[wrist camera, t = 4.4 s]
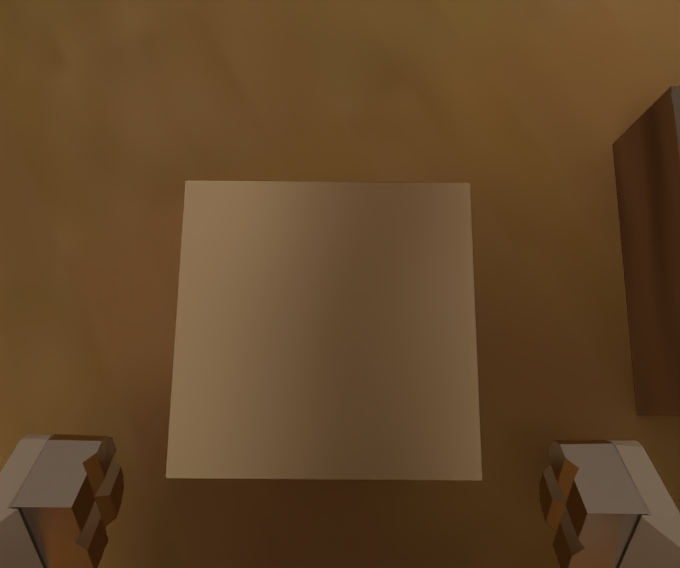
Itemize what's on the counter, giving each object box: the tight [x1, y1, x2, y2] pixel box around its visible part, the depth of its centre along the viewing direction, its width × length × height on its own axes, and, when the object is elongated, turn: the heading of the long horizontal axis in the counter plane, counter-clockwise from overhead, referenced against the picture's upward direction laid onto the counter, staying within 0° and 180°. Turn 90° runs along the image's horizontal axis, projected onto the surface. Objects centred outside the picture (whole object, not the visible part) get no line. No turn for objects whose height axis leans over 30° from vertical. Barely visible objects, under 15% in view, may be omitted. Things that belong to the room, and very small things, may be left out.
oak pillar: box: [166, 181, 482, 481], centre depth 14 cm, size 5×5×9 cm
